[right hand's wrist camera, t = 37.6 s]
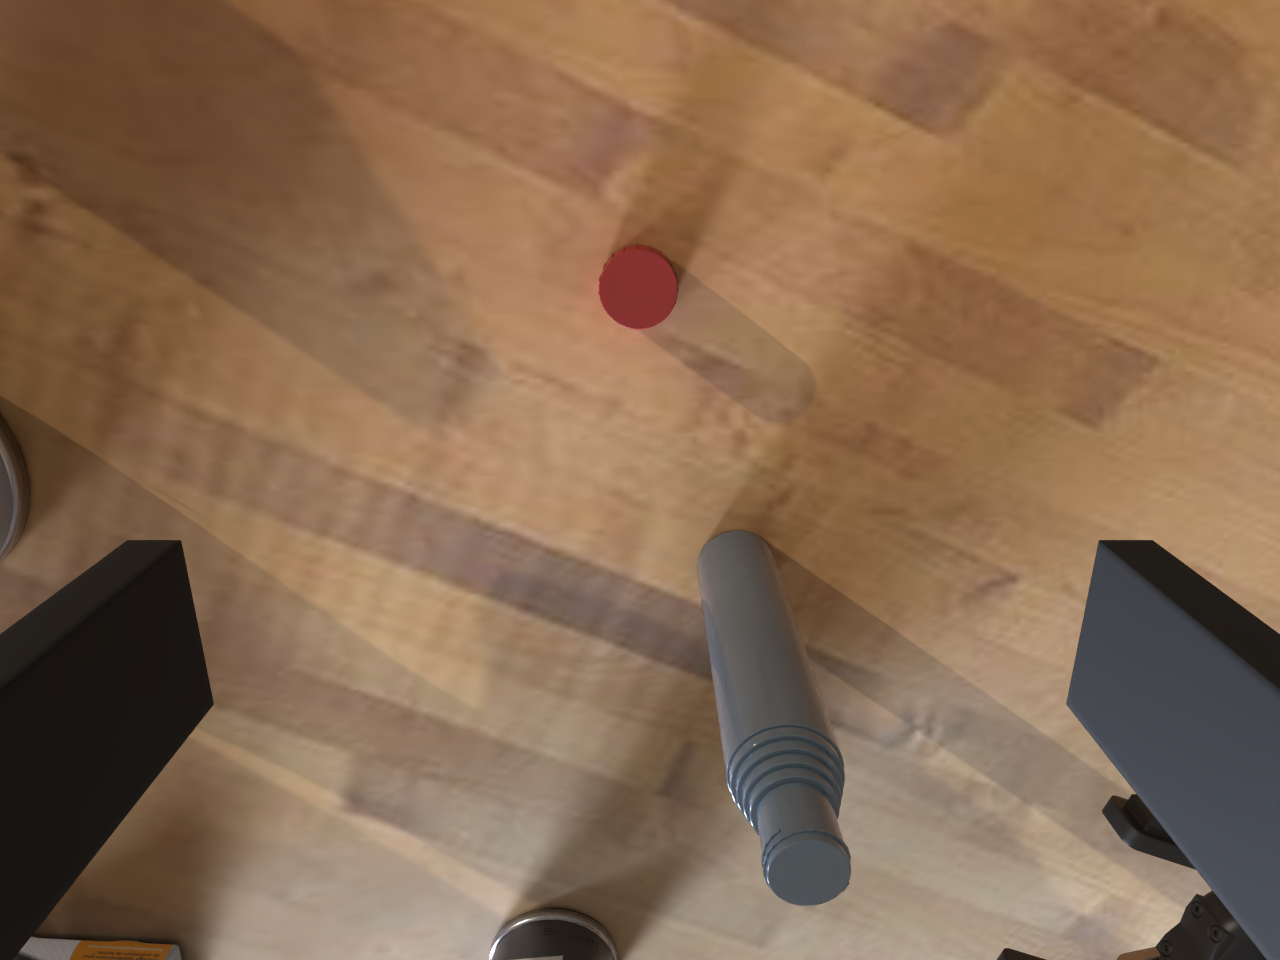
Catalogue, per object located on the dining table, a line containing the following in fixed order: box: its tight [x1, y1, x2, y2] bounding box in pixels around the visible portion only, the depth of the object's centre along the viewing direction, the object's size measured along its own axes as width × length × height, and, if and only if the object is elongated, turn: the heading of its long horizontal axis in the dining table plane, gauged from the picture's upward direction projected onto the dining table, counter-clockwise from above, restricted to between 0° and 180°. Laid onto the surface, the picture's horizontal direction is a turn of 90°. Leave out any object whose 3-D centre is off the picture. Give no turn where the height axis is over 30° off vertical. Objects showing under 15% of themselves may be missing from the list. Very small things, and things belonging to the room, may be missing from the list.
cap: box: [598, 244, 678, 329], centre depth 47 cm, size 4×4×2 cm
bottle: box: [697, 531, 851, 906], centre depth 42 cm, size 5×5×25 cm
